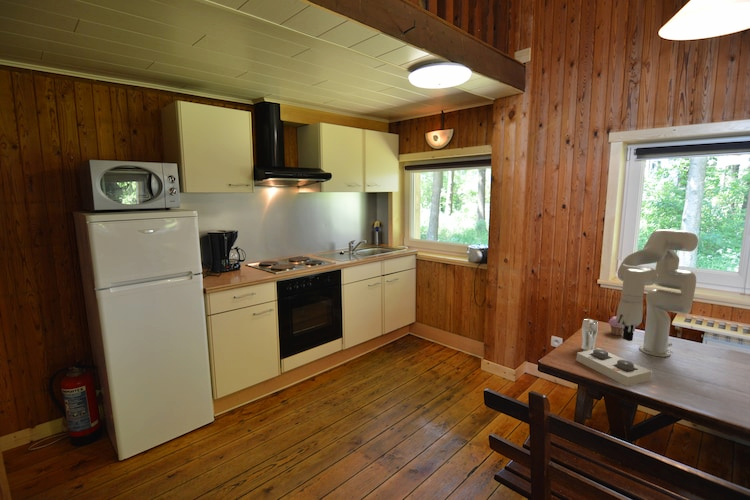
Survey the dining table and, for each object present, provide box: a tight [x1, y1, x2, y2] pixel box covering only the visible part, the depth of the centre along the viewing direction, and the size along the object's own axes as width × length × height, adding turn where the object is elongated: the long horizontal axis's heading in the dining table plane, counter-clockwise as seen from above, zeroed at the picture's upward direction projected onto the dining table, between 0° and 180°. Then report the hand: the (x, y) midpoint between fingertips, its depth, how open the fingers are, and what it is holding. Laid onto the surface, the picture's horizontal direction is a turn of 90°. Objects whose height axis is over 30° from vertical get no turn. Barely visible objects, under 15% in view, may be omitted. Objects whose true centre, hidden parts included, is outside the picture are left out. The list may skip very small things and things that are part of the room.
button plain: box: [593, 348, 609, 360], centre depth 174 cm, size 6×6×3 cm
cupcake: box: [608, 315, 623, 336], centre depth 209 cm, size 9×9×10 cm
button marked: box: [617, 359, 635, 372], centre depth 163 cm, size 6×6×3 cm
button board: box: [576, 347, 652, 387], centre depth 169 cm, size 14×25×4 cm, turn 20°
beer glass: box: [580, 318, 599, 351], centre depth 190 cm, size 7×7×15 cm
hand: (627, 339), depth 161 cm, fingers closed
